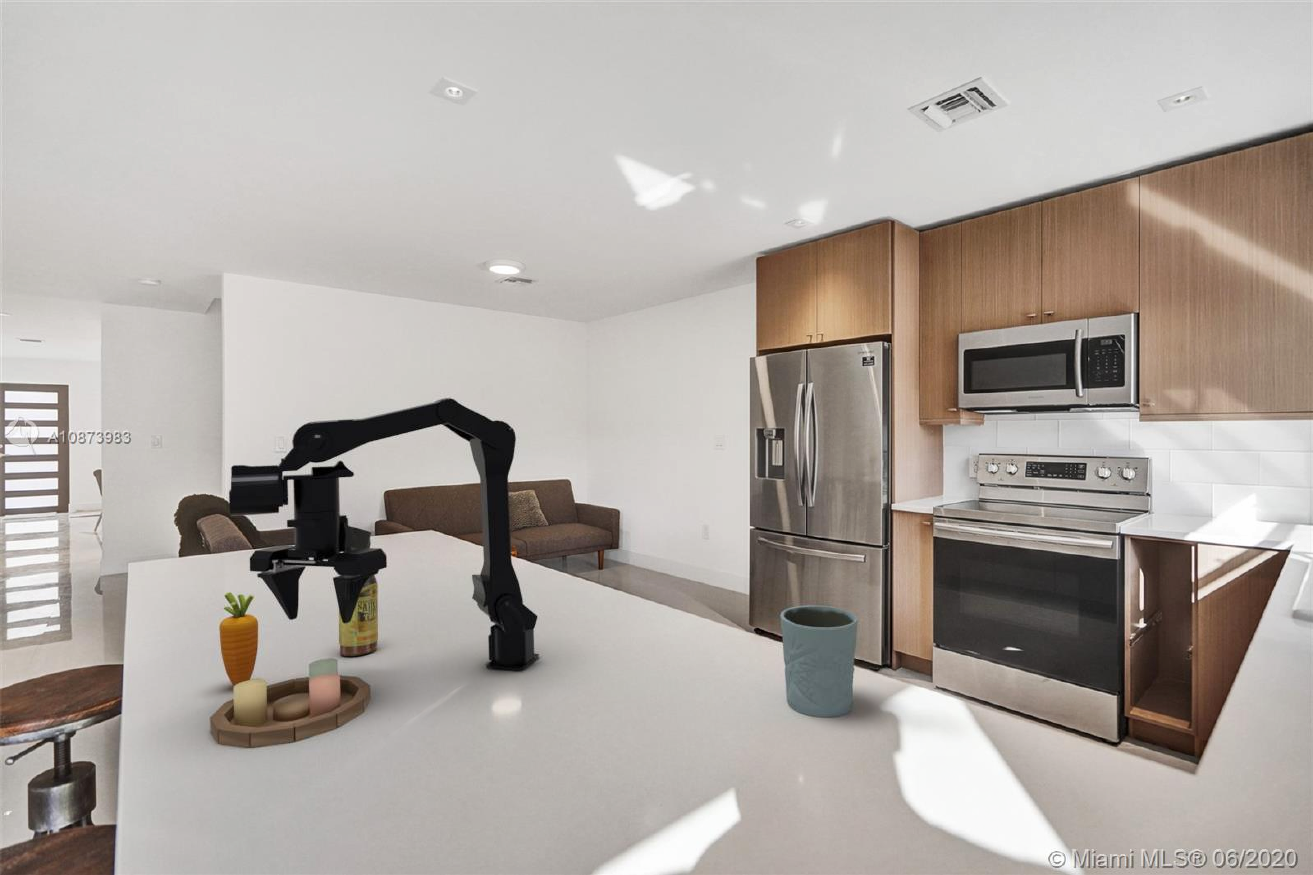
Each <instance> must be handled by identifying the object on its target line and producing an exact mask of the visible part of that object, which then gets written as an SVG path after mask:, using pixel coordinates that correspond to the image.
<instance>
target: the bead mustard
mask: <svg viewBox="0 0 1313 875" xmlns="http://www.w3.org/2000/svg"><path fill="white" fill-rule="evenodd" d="M266 686H267V680H266V679H264V678H255V679H250V680H247V681H244V682H241V683H238V684H236V685H235V686H233V689H232V690H233V699H234V725H238V726H246V727H256V726H258V725H261V724H263V723H264V722H266V721H267V691H266Z"/></svg>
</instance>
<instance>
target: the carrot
mask: <svg viewBox="0 0 1313 875" xmlns="http://www.w3.org/2000/svg"><path fill="white" fill-rule="evenodd" d="M224 598H225V599H226V600H227V602H228V603H229V604H230V606H231V607H230V606H224V607H223V609H224V610H225V611H226V612H228V613H229V614H231V616H229V617H227V618H224V619H223V620H221V621H220V623H219V643H220V654H221V657H222V662H223V665H224V669H225V673H226V675H227V677H228V679H229V681H230V683H231V684H232V686H233V687H234V686H235V685H236V684H238V683H241V682H244V681H247V680H251V678H252V675H253V673H254V670H255V665H256V662H257V655H258V648H259V647H258V646H259V645H258V644H259V622H258V618H256V616H255V615H253V614H251V613H249V614H247V611H248V608H249V606H250V605H251V602H252V601H253V599H254V598H255V595H253V594H249V595H248V596H247V598H246V597H245V595H244V594H238V595H237V599H238V601H237V599H236V598H235V596H234V595H233V593H232V592H231V591H230V592H226V593H225V594H224ZM238 602H239V603H238Z"/></svg>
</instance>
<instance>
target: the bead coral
mask: <svg viewBox="0 0 1313 875" xmlns="http://www.w3.org/2000/svg"><path fill="white" fill-rule="evenodd" d="M340 675H341V674H339V673H338V674H325V675H320V676H317V677H314V678H312V679H311V680H310V681H309V696H310V718H313V717H316V716H319V715H323V714H326V713H329V712H331V711H333V710H335V709H337V708H338V707H340V706H341V700H340Z"/></svg>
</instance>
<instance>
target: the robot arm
mask: <svg viewBox="0 0 1313 875" xmlns="http://www.w3.org/2000/svg"><path fill="white" fill-rule="evenodd" d="M440 425H442V426H444V427H445V428H447V429H448V430H450V431H451V432H452V433H453V434H455V435H457V436H458V437H460V438H462V439H464V440H465V441H466V442H469V445H470V451H471V454H472V455H471V456H472V459H473V462H474V465H475V467H476V470H477V473H478V475H479V476H478V477H479V480H480V482H479V483H480V484H479V485H480V503H481V504H480V506H481V508H480V509H481V523H482V524H481V529H482V549H483V565H482V568H481V571H480V574H472V575H471V580H472V584H473V594H472V596H471V598H472V600H473V601H475V603H476V606H477V607H478V608H479V610H480V611H481V612H483V614H485V615H487V616H488V618H489V620H490V622H492V623H493V625H491V626H490V627H489V628H490V634H488V637H487V638H488V641H487V642H488V659H489V662H487V663H486V664H485V666H486V667H485V668H487V669H496V670H497V669H498V670H511V671H523V670H525V669H526V668H528V666H530V665H531V664H533V662H535V661H536V660H537V659H539V658H540V654H539V653H535V633H534V632H535V630H534V629H535V628H536V624H537V620H538V615H537V614H536V613H535V612H534V611H532V610H531V609H530V608H529V607H527V606H526V605H525V604H524V600H523V595H522V590H521V585H520V581H519V579H518V577H517V573H516V571H515V568H514V565H513V561H512V545H511V544H512V540H511V522H510V521H511V520H510V519H511V518H510V500H509V499H510V498H509V497H510V496H509V494H510V493H509V475H510V474H509V473H510V470H511V469H512V468H511V467H512V464H513V461H514V457H515V449H516V441H517V437H516V432H515V430H514V428H513V427H512V426H511V425H510V424H509V423H507V422H505V421H503V420H496V419H495V420H491V419H490V418H488V417H486V416H485V415H483V414H481V413H479V412H477V411H475V410H472V409H471V408H468V407H466V406H464V405H462V404H461V403H459V402H458V401H457V400H456V399H454V398H451V397H444V398H441V399H438V400H437V399H436V400H435V401H434V402H429V403H424V404H421V405H416V406H411V407H408V408H402V409H399V410H395V411H391V412H386V413H381V414H377V415H372V416H368V417H365V418H364V417H363V418H355V419H353V418H352V419H349V418H348V419H335V420H333V419H332V420H317V421H309V422H307V423H305V424H303V425H302V426H300V427H299V428H298V429H297V430H296V431H295V432H294V434H293V437H292V441H291V442H292V443H291V444H292V448H291V450H290V451H289V452H288V453H287V454H286V455H285V457H284V458H282V457H281V458H280V462H279V464H277V465H276V464H275V465H272V464H271V465H245V464H236V465H235V464H234V465H232V466H231V468H230V469H231V470H230V471H231V472H230V473H231V476H230V490H228V496H229V497H228V500H229V502H228V503H229V513H230V514H229V515H230V517H242V516H254V515H270V514H279V513H280V508H281V507H282V508H283V507H284V506H289V485H288V484H289V481H290V480H291V481H292V484H293V486H292V487H293V518H292V519H291V518H290V519H287V520H286V528H294V545H276V546H272V547H267V548H263V549H257V550H254V552H253V553H252V555H250V557H249V572H255V573H256V577H257V578H258V579H262V581H263V582H264V583H265V585H266V586H267V588H268V589H269V591H270V592H272V594H273V596H274V597H275V599H276V601H277V602H278V604H279V605H280V607H281V609H282V610H283V612H284V614H285V615H286V616H287V619H289V620H292V621H293V620H295V619H297V618H298V613H299V601H300V600H299V599H300V598H299V597H300V596H299V595H300V594H299V593H300V590H299V587H300V582H299V581H300V579H301V576H302V574H303V573H304V570H305V569H306V567H321V568H322V567H323V568H333V570H334V571H335V572H336V574H337V575H338V576H335V577H332V580H333V585H334V591H335V595H336V596H335V597H336V601H337V605H338V612H339V611H340V615H341V619H342V622H343V623H348V622H350V621H351V619H352V616H353V613H354V610H355V607H356V604H357V601H358V599H359V596H360V593H361V591H362V589H363V586H364V584H365V583H366V581H367V580H368V579H369V578H370V577H371V576H372V575H375V576H376V575H378V574H379V571H380V570H382V569H385V568H387V567H388V566H387V564H388V562H387V553H386V552H385V551H384V550H383V548H380V547H379V548H376V547H374V548H372V547H370V548H368V545H369V541H370V542H371V535H372V532H371V531H369V530H365V529H362V528H359V527H354V526H351V525H349V518H348V517H347V515H345V514H343V515H341V511H340V510H341V508H340V478H352V477H354V476H355V473H354V472H353V471H352V470H351V469H349V468H348V467H347V466H346V465H345V463H344V462H343V461H342V460H338V461H337V462H336V464H334V465H330V466H329V465H327V466H312V467H311V469H310V470H311V471H310V473H311V474H310V473H308V474H307V473H305V474H290V475H288V474H287V475H283V472H297V471H299V470H300V469H301V468H303V467H305V466H306V465H308V464H309V463H312V464H313V463H315V464H318V463H325V462H328V461H329V460H331V459H334V458H337V457H339V456H342V455H344V454H346V453H348V452H351V451H352V450H354V449H357V448H359V447H362V446H363V445H366V444H368V443H372V442H375V441H379V440H383V439H386V438H387V439H388V438H391V437H395V436H396V437H397V436H401V435H404V434H408V433H411V432H417V431H420V430H424V429H428V428H433V427H436V426H440ZM257 572H259V573H257Z"/></svg>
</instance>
